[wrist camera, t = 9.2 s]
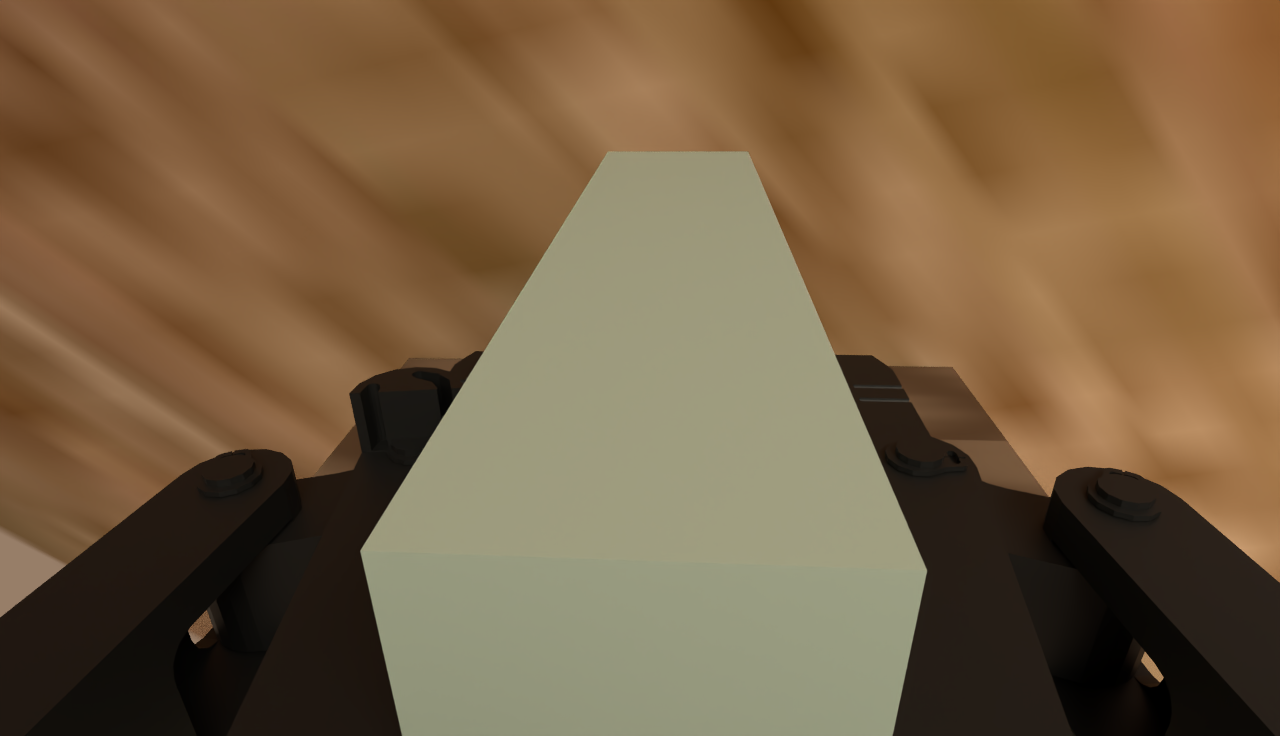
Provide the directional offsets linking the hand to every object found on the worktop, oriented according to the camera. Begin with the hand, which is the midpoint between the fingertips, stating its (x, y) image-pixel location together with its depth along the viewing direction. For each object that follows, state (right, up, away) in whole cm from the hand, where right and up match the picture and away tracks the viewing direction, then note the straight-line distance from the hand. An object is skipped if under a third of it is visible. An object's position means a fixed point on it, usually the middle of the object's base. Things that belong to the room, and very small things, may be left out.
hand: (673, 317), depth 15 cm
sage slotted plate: (0, -4, +4) cm, 5 cm away
